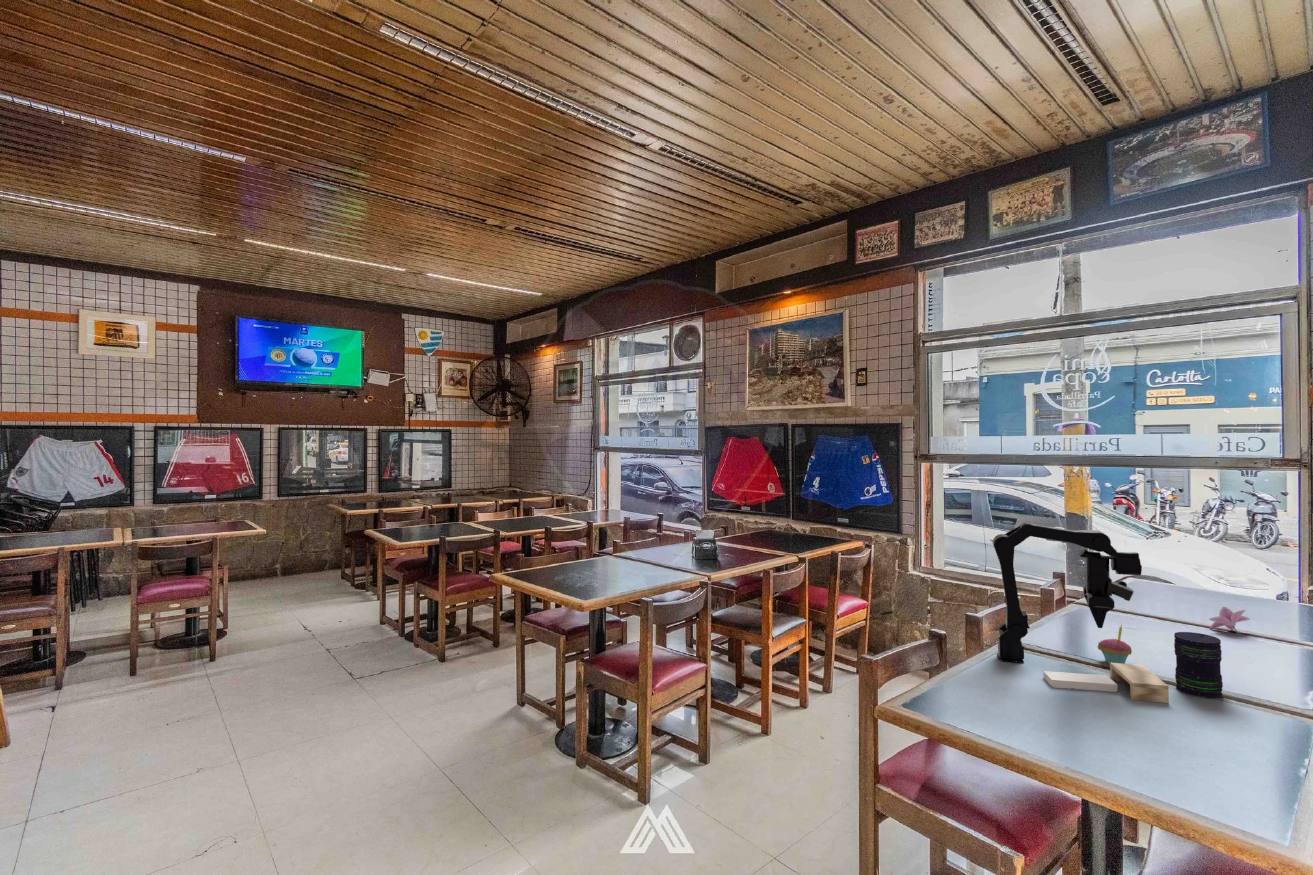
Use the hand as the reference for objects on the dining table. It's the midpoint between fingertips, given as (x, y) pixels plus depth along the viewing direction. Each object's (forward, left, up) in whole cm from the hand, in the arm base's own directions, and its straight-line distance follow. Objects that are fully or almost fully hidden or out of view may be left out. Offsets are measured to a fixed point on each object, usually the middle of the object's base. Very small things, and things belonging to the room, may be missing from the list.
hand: (1098, 623), depth 187 cm
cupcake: (+7, +8, -14) cm, 17 cm away
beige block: (+4, -15, -14) cm, 21 cm away
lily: (+55, +53, -14) cm, 78 cm away
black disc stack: (+19, -12, -14) cm, 27 cm away
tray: (-9, -15, -14) cm, 23 cm away
